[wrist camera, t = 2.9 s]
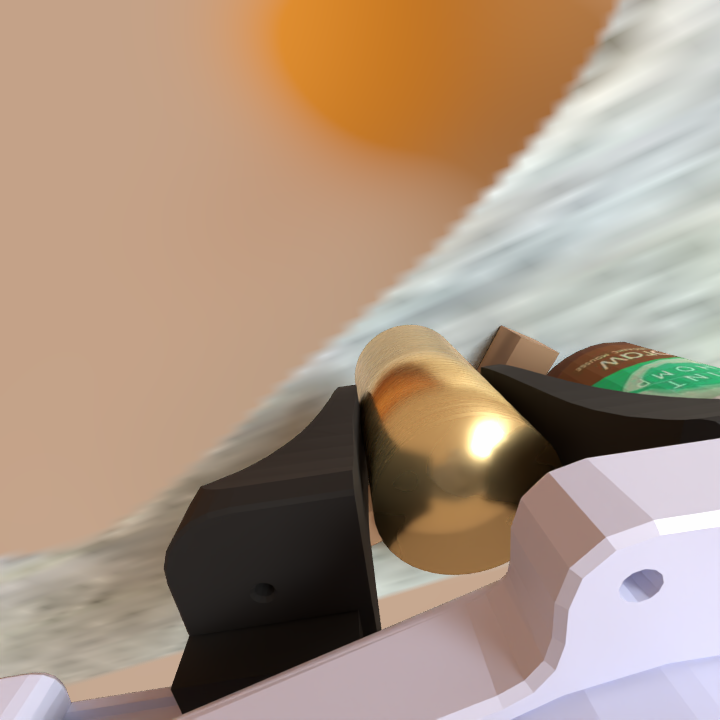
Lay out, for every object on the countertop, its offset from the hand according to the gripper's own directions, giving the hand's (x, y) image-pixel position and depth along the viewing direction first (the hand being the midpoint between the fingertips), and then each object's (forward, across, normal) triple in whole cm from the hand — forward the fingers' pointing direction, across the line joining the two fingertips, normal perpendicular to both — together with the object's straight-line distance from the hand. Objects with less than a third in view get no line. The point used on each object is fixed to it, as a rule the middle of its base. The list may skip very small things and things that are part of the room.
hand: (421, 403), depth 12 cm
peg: (+2, 0, 0) cm, 2 cm away
